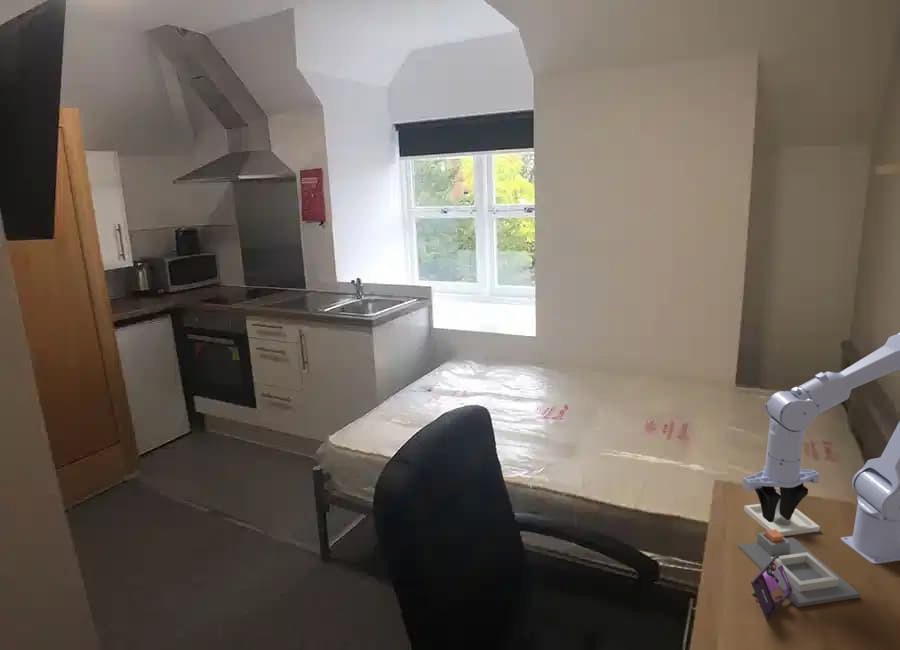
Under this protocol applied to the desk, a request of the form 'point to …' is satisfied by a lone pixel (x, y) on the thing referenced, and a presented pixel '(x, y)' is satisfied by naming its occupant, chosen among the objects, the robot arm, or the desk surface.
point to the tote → (797, 525)
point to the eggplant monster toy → (769, 586)
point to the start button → (774, 536)
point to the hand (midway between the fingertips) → (776, 518)
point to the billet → (778, 518)
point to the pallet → (800, 572)
